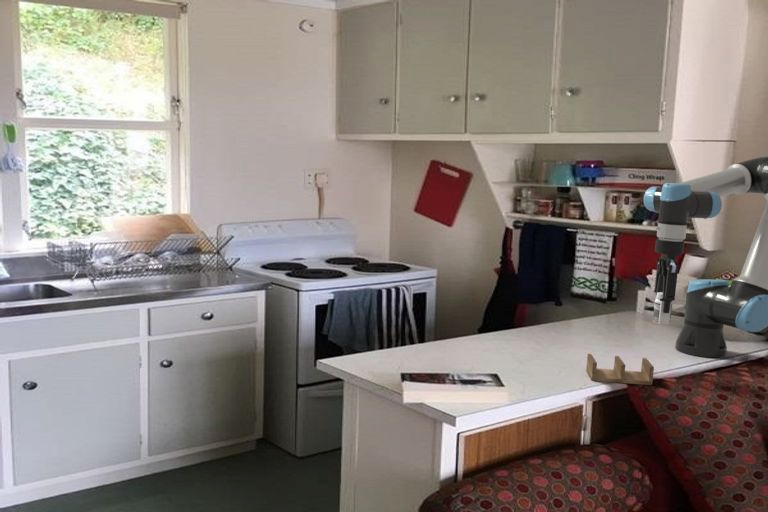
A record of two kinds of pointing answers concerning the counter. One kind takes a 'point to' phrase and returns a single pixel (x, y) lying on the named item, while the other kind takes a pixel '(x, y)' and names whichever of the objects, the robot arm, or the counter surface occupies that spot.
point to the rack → (620, 372)
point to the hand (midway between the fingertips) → (661, 321)
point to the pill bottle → (658, 308)
